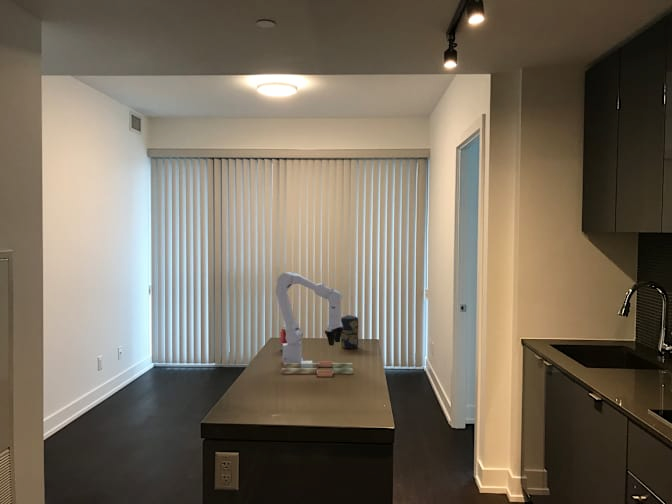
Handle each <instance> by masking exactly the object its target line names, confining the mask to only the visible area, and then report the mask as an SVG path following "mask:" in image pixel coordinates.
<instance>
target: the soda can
mask: <svg viewBox="0 0 672 504" xmlns="http://www.w3.org/2000/svg"><path fill="white" fill-rule="evenodd" d="M285 329H286V326H285V327H281V330H280V336H279V337H280V343H279V344H280V350H282V351H283V344H285V343H287V341H286V332H285Z"/></svg>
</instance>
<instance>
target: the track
mask: <svg viewBox="0 0 672 504" xmlns="http://www.w3.org/2000/svg"><path fill="white" fill-rule="evenodd" d="M318 368H319V367H318V362H313V368H301V363H283V368H281V374H283V375H284V374H286V375H287V374H295V375H296V374H297V375H298V374H303V375H304V374H307V375H308V374H311V375H312V374H313V375H315V374H316V375H317V370H318ZM332 370H333V375H334V374H347V375H348V374H350V375H351V374H354V369H353V362H333V367H332Z"/></svg>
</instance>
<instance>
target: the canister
mask: <svg viewBox="0 0 672 504" xmlns="http://www.w3.org/2000/svg"><path fill="white" fill-rule="evenodd" d="M341 322H342V325H343V327H344V330H343V332H342V334H341V339H340V343H341V344H340V346H341V347H342V348H344V349H355V348H358V347H359V317H358V316H354V315H350V314H348V315H346V316H342V317H341Z"/></svg>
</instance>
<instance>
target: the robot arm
mask: <svg viewBox="0 0 672 504" xmlns="http://www.w3.org/2000/svg"><path fill="white" fill-rule="evenodd" d="M276 281H277V283H276V285H275V286H276V287H275V294H276V298H277V301H278V304H279V307H280V311H281V313H282V318H283V321H284V324H285V327H286V329H285V332H286V341H287V343H285V344H283V350H282V364H284V363H301V362H302V361H304V358H302V357H303V348H302V347H303V342H302V339H303V338H304V331H303V330H302V329H301V328H300V324H299V323H297V321H296V318H295V314H294V311H293V309H292V305H291V301H290V298H289V295H288V294H289V293H288V291H289V289H290V288H291V287H292V285H298V284H299V285H300V286H304V287H306V288H308V289H311V290H312V291H313V292H314V294H315V295H317V296H319V297H321V298H323V299H325V300H327V301H328V325H327V326H326V329H325V330H324V333H325V335H326V338H327V341H328V346H334V345H335V343H341V334H342V332H343V330H344V327H343V325H342V322H341V318H342V317H341V316H342V315H341V313H342V312H341V306H342V305H341V300H342V296H343V295H342V292H340V291H339V290H338V289H335V288H334V287H332V288H330V286H327V285H326V284H325V283H324V282H322V283H315V282H313V281H312V280H310V279H308V278H306V277H304V276H302V275H301V274H299V273H296V272H294V271H287V272H282V273H281V274H279V276H278V277H277V279H276Z"/></svg>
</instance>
